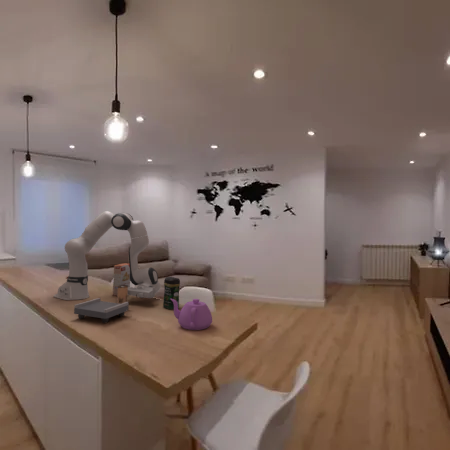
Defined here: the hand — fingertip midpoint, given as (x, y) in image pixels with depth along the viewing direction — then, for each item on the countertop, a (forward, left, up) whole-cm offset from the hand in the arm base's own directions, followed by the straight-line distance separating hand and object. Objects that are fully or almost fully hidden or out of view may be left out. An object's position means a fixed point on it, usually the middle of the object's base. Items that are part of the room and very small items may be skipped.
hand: (130, 294), depth 199 cm
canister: (0, -7, -7) cm, 10 cm away
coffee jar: (+22, +11, -8) cm, 26 cm away
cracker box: (-26, +27, -8) cm, 38 cm away
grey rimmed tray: (0, -24, -7) cm, 25 cm away
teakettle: (+48, -16, -8) cm, 51 cm away
